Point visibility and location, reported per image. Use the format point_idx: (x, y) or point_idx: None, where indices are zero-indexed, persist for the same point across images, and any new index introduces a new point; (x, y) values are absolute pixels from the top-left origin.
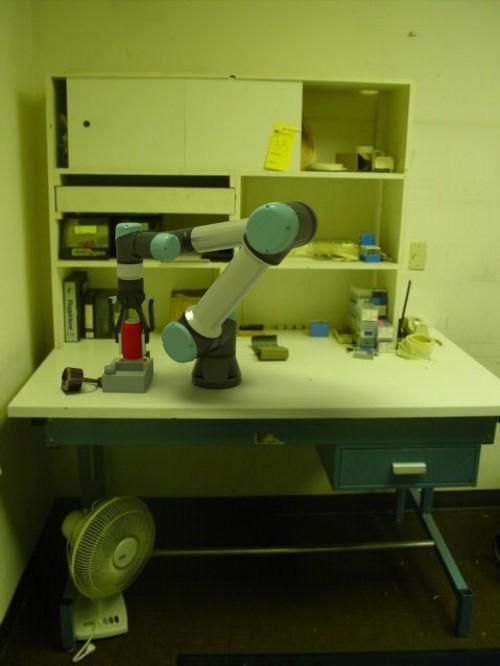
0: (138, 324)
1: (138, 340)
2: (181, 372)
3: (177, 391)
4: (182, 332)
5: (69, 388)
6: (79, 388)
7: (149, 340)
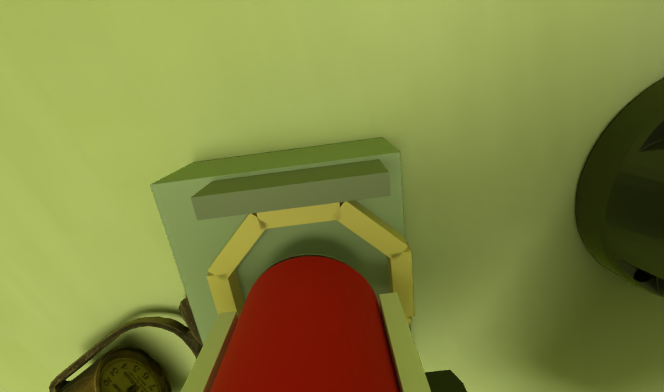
0: None
1: None
2: (521, 92)
3: (518, 319)
4: None
5: None
6: (167, 390)
7: (464, 390)
